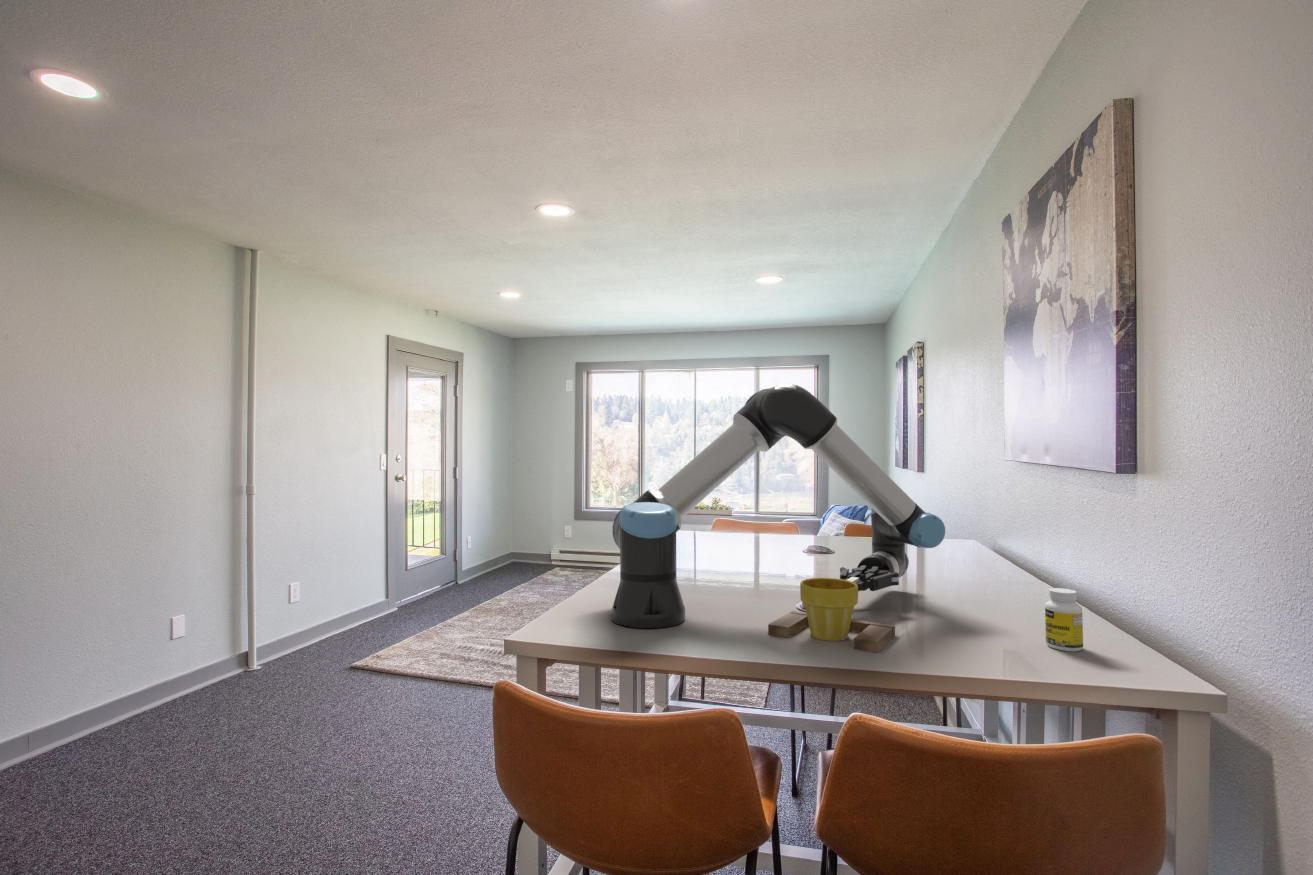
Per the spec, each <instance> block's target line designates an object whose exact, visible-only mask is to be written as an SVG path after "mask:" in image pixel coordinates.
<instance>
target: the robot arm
mask: <svg viewBox="0 0 1313 875" xmlns="http://www.w3.org/2000/svg"><path fill="white" fill-rule="evenodd" d="M785 436H786V437H788V438H791V439H792V440H794V441H795V442H797V443H798V444H799V445H800V446H801V447H802V448H803V449H805V450H812V451H813V452H814V453H815V454H816V455H817V456H818V457H819V458H820V459H821V460H822V461H823V462H824V463H826V464H827V466H828V467H829V468H831V470H832V471H833V472H834V473H836V475H838V476H839V478H841V479H842V480H843V481H844V482H845V483H846V484H847V485H848V486H849V487H850V488H851V489H852V490H853V491H854V492H855V493H856V494H857V495H858V496H859V497H860V498H861V499H862V500H864V502H865V503H866V504H867V505H869V507H870V508H871V509H870V510H871V513H870V520H871V523H870V524H871V554H870V555H868V556H866V557H864V558H863V559H861V560H860V561H859V563H858V564H857V567H854V568H851V570H850V569H849V568H846V567H840V568H839V579H843V580H848V581H851V582H854V583H856V584H857V585H858V592H862V591H863V592H864V591H867V590H868V589H869V591H871V592H876V591H879V590H882V589H885V588H889V587H891V586H893V587H894V586H899V585H900V580H899V579H900V578H901V577H903V576H904V575H905V573H906V572H907V570H908V567H909V564H910V560H909V557H908V554H907V553H906V546H905V545H906V544H907V545H909V546H914V547H916V548H919V549H920V548H924V549H932V548H936V547H937V546H939V545H940V544H942V542H943V541H944V538H945V536H946V525H945V523H944V521H943V520H942V519H941V518H940V517H939V516H937V515H935V514H933V513H930V512H926V511H924V510H923V509H922V507H920V506H919V505H918V504H917V503H916V502H915V501H914V500H913V499H912V498H911V497H910V496H909V495H908V494H907V493H906V492H905V491H904V490H903V489H902V488H901V487H900V486H899V485H898V484H897V483H896V482H895V481H894V480H893V479H892V478H891V477H890V476H889V475H888V474H887V473H886V472H885V471H884V470H883V469H882V468H881V467H880V466H879V465H878V464H877V463H876V462H875V461H874V460H873V459H872V458H871V457H870V456H869V455H868V454H867V453H866V452H865V451H864V450H863V449H862V448H861V447H860V446H859V445H858V444H857V443H856V442H855V441H854V440H853V439H852V438H851V437H850V436H849V435H848V434H847V433H846V432H845V431H844V430H843V429H842V428H841V426H839V425H838V418H837V416H835V414H833V412H832V411H831V410H830V409H829V408H828V407H827V406H826V405H824V404H823V403H822V402H821V401H820V400H819V399H818V398H817V397H816V396H815V395H813V394H812V393H811V392H810V391H808V390H807V389H805V388H804V387H802V386H799V385H797V384H793V383H781V384H778V385H776V386H772V387H769V388H764V389H763V388H762V389H761V390H757V391H756V392H755V393H753V394H752V395H750V397H749V398H748V399H747V401H746V402H745V404H744V405H743V407H741V408H740V409H739V410H738V411H737V412H736V413H734V415H733V419H732V424H731V425H730V426H729V427H728V428H727V429H726V430H725V431H724V432H722V433H721V434H720V435H719V436H718V437H717V438H715V439H714V440H713V441H712V442H711V443H710V444H709V445H707V446H706V447H705V448H704V449H703V450H701V452H699V453H698V454H697V455H696V456H695V457H694V458H693V459H692V460H690V461H689V462H688V463H687V464H686V465H684V466H683V467H682V468H681V469H680V470H678V472H677V473H675V474H674V475H673V476H672V477H671V478H670V479H668V480H667V481H666V482H665V483H664V484H663V485H662V486H661V487H659V488H658V489H647V490H646V491H645V492H644V493H643V494H641V495H640V496H639V497H638V498H637V499H636V500H635V501H633V502H632V503H629V504H625V505H623V506H622V507H621V509H619V511H618V512H617V514H616V515H615V518H614V520H613V522H612V530H611V531H612V538H613V539H614V542H615V545H616V546H617V547H618V548H619V570H620V571H619V573H620V575H619V577H620V579H619V585H618V588H617V591H616V593H615V598H614V601H613V605H612V607H611V621H612V620H613V621H614V622H613V623H615V622H616V623H618V624H617V625H619V624H621V625H620V626H622V625H625V626H624V627H626V626H629V627H628V628H633V627H634V628H635V629H660V628H668V627H673V626H676V625H679V624H681V623H683V622H684V621H685V620H686V606H685V604H684V601H683V597H682V594H681V591H680V590H681V589H680V588H679V584H678V580H677V579H678V578H677V533H678V531H679V530H680V529H681V528H682V520H683V518H684V517H685V516H686V515H688V514H689V513H690V512H691V511H692V510H693V509H694V508H695V507H696V506H697V505H699V504H700V503H701V502H702V501H703V500H704V499H705V498H707V497H708V496H709V495H710V494H711V493H712V492H713V491H714V490H715V489H717V487H719V486H720V485H721V484H723V482H725V481H726V480H727V479H728V478H729V477H730V476H732V475H733V473H734V472H736V471H737V470H738V469H739V468H740V467H741V466H743V465H744V464H745V463H746V462H747V461H748V460H749V459H751V457H753V455H755V454H756V453H757V452H762V453H763V452H768V451H769V450H770V449H771V448H773V447H774V446H775V445H776V444H777V443H779V441H781V439H783V438H784V437H785ZM616 623H615V624H616Z"/></svg>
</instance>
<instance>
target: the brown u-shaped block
mask: <svg viewBox="0 0 1313 875" xmlns="http://www.w3.org/2000/svg"><path fill="white" fill-rule="evenodd" d="M807 626H809V623H808V618H807V614H806V612H805V611H797V610H796V611H795V610H791V611H790V612H788V613H786V614H784V615H783V616H780V617H779V618H777V619H776V620H773V621H772V622H770V623H768V624H767V630H768V631H767V633H768V635H772V636H779V637H784V638H790V637H791V636H793V635H795V634H796V633H797V632H799V631H801V630H802V629H803V630H804V628H806V627H807ZM849 632H856V633H858V634H857V635H855V637H853V649H854V650H860V651H866V652H872V653H879V652H880V651H881V650H882V649H884V647H885V646H886V645H887V644H888V643H890V641H891V640H892V639H893V638H894V637H895V636H896V625H894V624H888V623H887V624H886V623H881V622H874V621H873V622H872V621H866V620H860V619H859V620H858V619H854V618H852V619H851V623H850V628H849Z"/></svg>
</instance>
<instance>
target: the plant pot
mask: <svg viewBox="0 0 1313 875" xmlns="http://www.w3.org/2000/svg"><path fill="white" fill-rule="evenodd" d="M799 585H800V586H799V587H800V588H799V589H800V590H799V591H800V592H799V593H800V600H801V602H803V603H804V609H805V613H806V614H807V618H808V623H809V624H808V628H809V633H810V636H811V637H812V638H814V639H817V640H821V641H826V642H840V641H844V640H846V639H847V638H848V637H849V632H850V631H849V628H850V623H851V619H853V615H854V614H853V613H854V609H855V606H856V605H858V602H859V591H858V585H857V584H856V583H854V582H851V581H848V580H843V579H840V578H835V577H812V578H806V579H803V580H801V581H800V584H799Z"/></svg>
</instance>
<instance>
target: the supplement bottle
mask: <svg viewBox="0 0 1313 875" xmlns="http://www.w3.org/2000/svg"><path fill="white" fill-rule="evenodd" d="M1048 590H1049V595H1048V596H1049V598H1050V600H1049V601H1046V603H1045V605H1044V617H1045V618H1044V619H1045V621H1044V622H1045V623H1044V624H1045V644H1046V645H1047V646H1048V647H1049V648H1052V649H1055V650H1057V651H1058V650H1059V651H1063V652H1070V651H1071V652H1072V653H1074V652H1081V651H1083V649H1084V626H1083V624H1084V623H1083V622H1084V621H1083V608H1082V606H1081V605H1080V604H1078V603H1077V599H1078V593H1077V591H1076V590H1074V589H1069V588H1062V587H1051V588H1049V589H1048Z"/></svg>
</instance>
